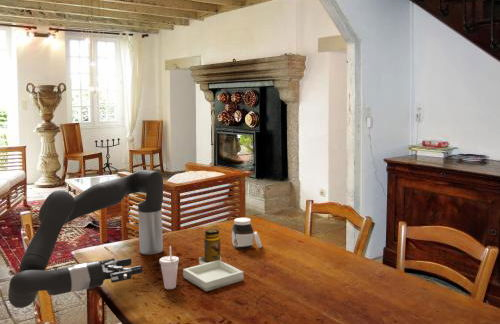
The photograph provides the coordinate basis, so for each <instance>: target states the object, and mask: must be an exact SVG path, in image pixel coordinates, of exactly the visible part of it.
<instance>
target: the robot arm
mask: <svg viewBox="0 0 500 324" xmlns="http://www.w3.org/2000/svg"><path fill="white" fill-rule="evenodd" d="M137 193H142V194H145V195H146V196H145V200H143V201H140V202H139V203H137V215H138V217H137V218H138V239H139V240H138V241H139V253H140V254H142V255H157V254H159V253H162V252H163V251H164V247H163V246H164V245H163V244H164V243H163V241H164V240H163V237H164V236H163V216H162V215H163V214H162V213H163V212H162V210H163V209H162V205H163V203H164V178H163V175H162V174H161V173H160V172H159V171H157V170H152V169H151V170H150V169H140V170H137V171H134V172H133V173H131V174H128V175H126V176H123V177H119V178H114V179H109V180H107V181H102V182H99V183H95V184H93V185H92V186H90V187H88V188H86V189H85V190H84V191H82V192H81V193H79V194H77V195H76V196H73V195H72V194H71V193H70V192H68V191H67V190H66V191H65V190H60V189H59V190H58V189H57V190H54V191H52V192H51V193H50V194H48V196H47V197H46V198H45V200H44V201H43V203H42V205H41V207H40V209H39V212H38V220H39V221H40V225H39V226H38V228H37V230H36V231H35V233H34V235H33V236H32V239H31V240H30V242H29V243H28V246H27V248H26V250H25V251H24V254H23V256H22V259H21V261H20V264H19V268H18V269H19V270H18V272H17V273H16V274H14V275H13V276H12V277H11V278H10V281H9V287H8V294H7V298H8V301H9V303H10V304H11V305H12V307H14V308H18V309H22V308H26V307H29V306H30V305H31V304H33V302H34V301H35V300H36V297H37V295H38V292H41V291H43V292H44V291H46V293H47V294H48V296H49V295H50V296H59V295H63V294H67V293H72V292H80V291H84V290H89V289H93V288H97V287H101V286H102V285H103V284H104V282H105V280H110V282H111V283H112V284H113V283H114V284H115V283H118V282H123V281H128V280H132V276H134V275H138V274H139V275H140V274H142V273H143V272H144V271H143V266H142V265H135V266H131V265H132V258H130V257H129V258H128V257H127V258H123V259H118V258H117V259H116V258H114V257H113V258H108V259H104V260H93V261H87V262H83V263H77V264H73V265H70V266H67V267H62V268H58V269H53V270H47V267H48V265H49V262H50V259H51V256H52V255H53V252H54V250H55V249H54V248H55V246H56V243H57V242H58V238H59V236H60V233H61V231H62V229H63V227H64V225H66V224H68V223H69V222H72V221H74V220H76V219H78V218H80V217H83V216H87V215H89V214H92V213H95V212H98V211H101V210H104V209H106V208H110V207H113V206H115V205H118V204H120V203H121V202H122V201H123V199H124V198H125V197H126V196H129V195H133V194H137ZM129 266H131V267H129Z"/></svg>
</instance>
